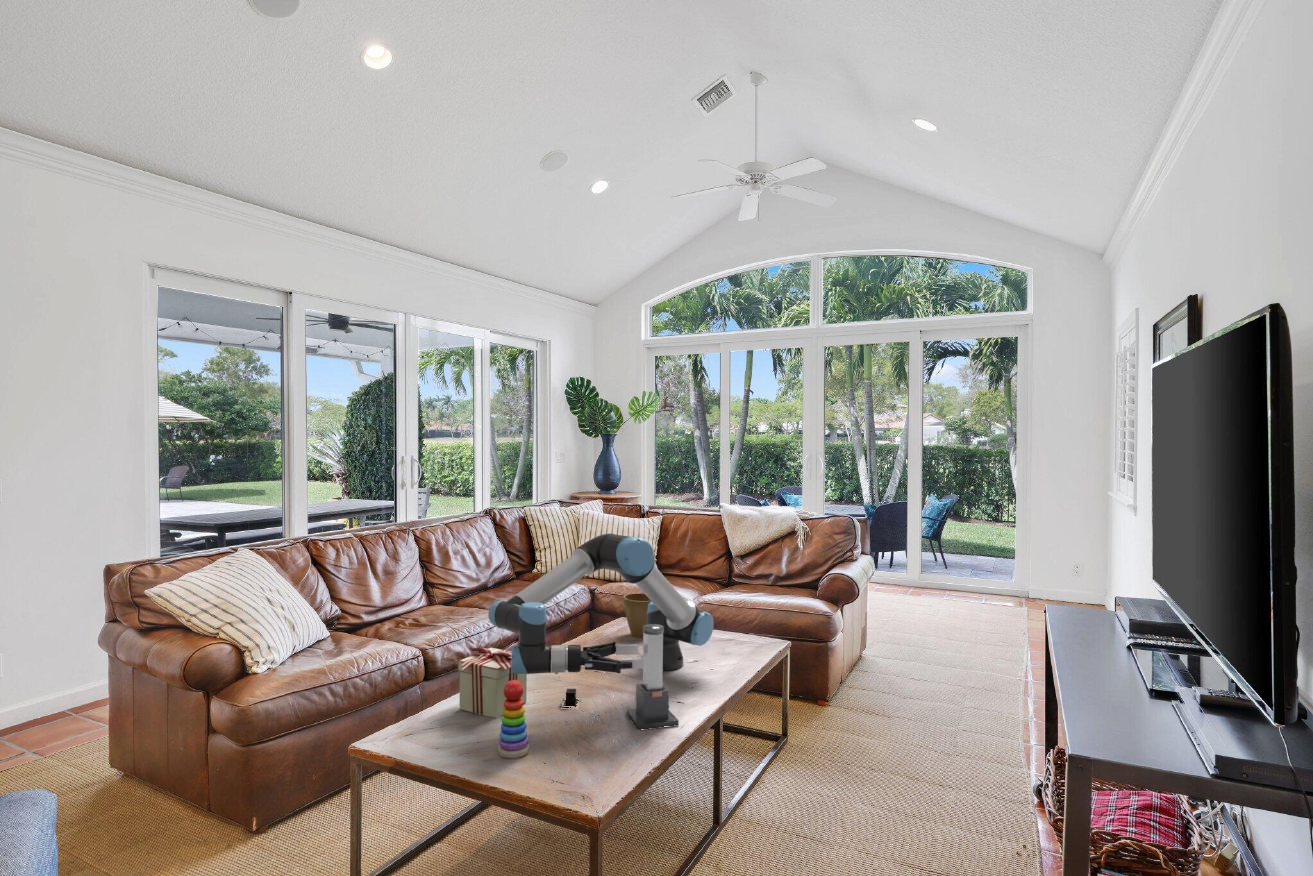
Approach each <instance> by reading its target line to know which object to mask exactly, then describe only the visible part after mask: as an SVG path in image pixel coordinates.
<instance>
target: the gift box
mask: <svg viewBox="0 0 1313 876" xmlns="http://www.w3.org/2000/svg"><path fill="white" fill-rule="evenodd" d="M471 650H472V652H477V653H474V654H472V655H470V656H468V657H465V658H462V659H460V660H459V661H458V667H457V669H458V672H459V710H460V711H464V712H469V713H472V714H475V715H476V714H477V715H481V716H485V717H489V718H494V719H499V718H500V717H502V716H503V715H504V714H503V710H504V708H505V707H504V701H505V700H506V699H507V698H506V697H505V695H504V687H505V685H506V684H507V683H508V682H509V681H512V680H517V681H519V682H520V683H521V684H522V685H523V689H524V691H523V694H522V696H521V697H520V698H522V699H523V704H525V703H527V680H528V679H527V675H528V674H515V673H513V672H512V669H511V659H512V650H507V649H506V650H505V649H501V648H494V647H489V648H485V647H483V648H482V647H474V648H471Z"/></svg>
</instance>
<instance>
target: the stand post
mask: <svg viewBox="0 0 1313 876" xmlns="http://www.w3.org/2000/svg"><path fill="white" fill-rule="evenodd" d="M663 632H664V627H663V626H662V625H658V624H648V625H644V626H643V637H642V638H643V641H642V656H643V658H644V669H642V684H643V688H644V690H645V691H646V692H647V691H657V690H662V684H663V674H664V673H663V671H664V670H663Z"/></svg>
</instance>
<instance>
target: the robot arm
mask: <svg viewBox="0 0 1313 876" xmlns="http://www.w3.org/2000/svg"><path fill="white" fill-rule="evenodd" d="M654 553H655V551H654V548H653V547H652V545H651V543H649V542H648V541H647V540H646V539H644V538H641V537H637V536H629V535H622V534H615V533H603V534H599V535H598V536H597V535H596V536H595V537H593V538H591V539H589V540H587V541H585V542H584V543H582V544H580V545H579V546H577V547H576V548H575V549H573V550H572V554H571V555H570V556H569V557H568V558H566V559H565V560H564V561H562V562H561V563H559V564H558V565H557V566H555V567H554V568H552V569H551V570H549V571H547V573H545V574H544V575H542V576H541V577H540V578H538V579H536V580H535V581H534V582H532V583H531V584H529V585H528V586H527V587H525V588H523V589H522V590H521V591H519V592H518V593H517V594H515V595H514V596H512V597H511V598H509V599H507V600H497V601H495V602H494V603H492V604H491V606H490V607H489V610H488V613H487V615H488V620H489V622H490V623H491V625H493V626H495V627H497V628H498V629H503V630H506V631H509V632H511V633H514V634H517V635H518V645H516V646H512V649H511V651H512V659H511V669H512V672H513V673H515V674H527V675H534V674H535V675H536V674H537V675H538V674H551V673H553V674H555V675H558V674H559V673H566V671H567V672H568V673H580V672H581V669H582V666H584V670H586V671H598V672H599V671H600V672H607V673H614V674H615V673H616V674H621V671H623V670H643V669H644V658H643V655H642V657H640V658H623V659H622V658H621V659H620V660H619V659H615V658H614V659H613V658H610V657H609V658H608V656H612V655H616V656H623V655H626V656H627V655H628V656H629V655H639V644H617V643H616V642H614V641H612V642H609V643H608V642H607V643H604V644H598V645H592V646H583V647H581V645H580V644H568V645H567V646H566V645H565V644H554V645H546V644H547V643H546V641H547V639H546V638H547V637H546V636H547V619H548V617H547V607H546V604H548V603H549V602H550V601H552V600H553V599H554V598H555V597H557V596H559V595H560V594H561V593H562V592H564V591H565V590H566V589H568V588H570V586H572V585H573V584H575V583H576V582H577V581H579V580H580V579H581V578H583V577H584V576H586V575H588V576H590V575H592V574H594V573H595V572H597V571H600V570H608V571H611V572H612V571H614V572H616V573H618V574H619V575H620V576H621V577H622V578H623V579H624V580H625V581H626V583H629V584H631V585H632V584H635V585H636V586H637V587H638V588H639V589H640V590H641V592H642V593H644V594H645V595H646V596H647V597H648V598H649V599H650V600H651V601H652V602H650V603H649V604H648V610H647V625H648V624H658V625H662V626H663V627H664V632H663V671H672V670H678V669H681V668H682V667H683V666H684V656H683V652H682V649H681V646H680V645H681V644H680V642H683V643H687V644H690V645H691V646H697V647H702V646H704V645H705V644H706V643H708V642H709V641H710V639H711V637H712V634H713V631H714V618H713V616H712V614H711V613H709V612H707V611H702V610H700V609H699V608H698V606H697V605H695V603H694V602H693V601H691V600H689V599H685V598H684V597H683V596H682V595H681V594H680V593H679V592H678V590H677V589H676V588H675V587H674V586H673V585H672V584H671V582H670V581H669V580H668V579H667V578H666V577H665V576H664V575H663V574H662V572H661V571H660V570H659V569H658V568H657V566H655V565H656V562H655V561H656V560H655V555H654Z"/></svg>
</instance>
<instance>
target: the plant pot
mask: <svg viewBox="0 0 1313 876" xmlns="http://www.w3.org/2000/svg"><path fill="white" fill-rule="evenodd" d="M650 602H652V601H651V600H650V599H649V598H648V597H647V596H646V595H645V594H644V592H641V593H640V592H635V593H628V594H625V595H624V596H623V605H624V611H625V616H626V621H627V625H628V627H629V631H630V634H631V636H632V637H634V636H636V637H635V638H643V626H644V625H647V610H648V604H649V603H650Z"/></svg>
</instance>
